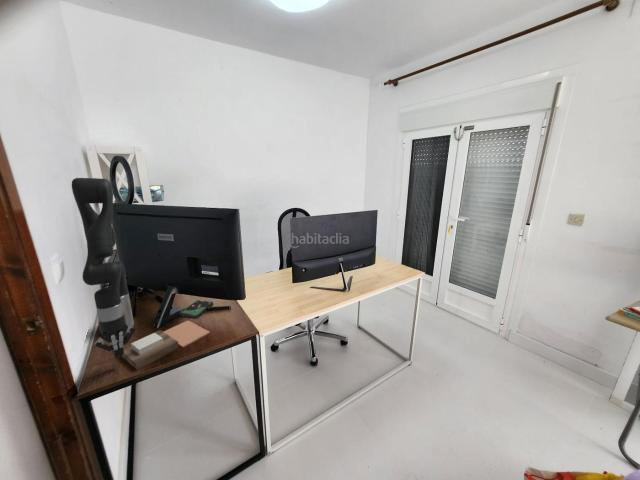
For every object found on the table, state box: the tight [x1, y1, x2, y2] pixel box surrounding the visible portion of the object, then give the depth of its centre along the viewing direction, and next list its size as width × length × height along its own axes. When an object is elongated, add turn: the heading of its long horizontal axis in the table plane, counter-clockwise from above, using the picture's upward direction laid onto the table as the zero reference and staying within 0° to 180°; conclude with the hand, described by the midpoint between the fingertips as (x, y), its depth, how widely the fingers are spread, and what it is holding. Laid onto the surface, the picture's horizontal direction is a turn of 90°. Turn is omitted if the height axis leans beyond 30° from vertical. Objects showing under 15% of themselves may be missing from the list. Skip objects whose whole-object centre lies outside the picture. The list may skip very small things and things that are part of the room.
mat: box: [163, 320, 211, 348], centre depth 120 cm, size 18×13×1 cm
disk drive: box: [180, 299, 214, 319], centre depth 141 cm, size 10×3×15 cm
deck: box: [121, 329, 180, 371], centre depth 107 cm, size 15×16×3 cm
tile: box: [130, 332, 163, 355], centre depth 106 cm, size 7×9×2 cm
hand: (119, 356), depth 98 cm, fingers closed
